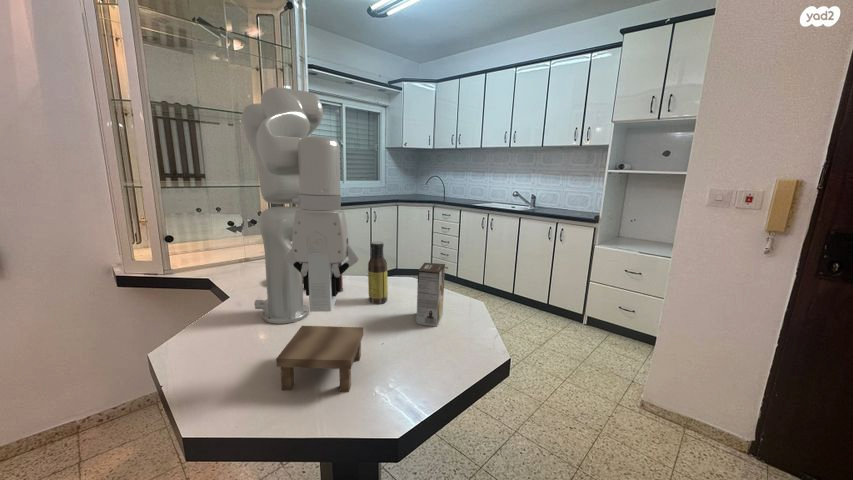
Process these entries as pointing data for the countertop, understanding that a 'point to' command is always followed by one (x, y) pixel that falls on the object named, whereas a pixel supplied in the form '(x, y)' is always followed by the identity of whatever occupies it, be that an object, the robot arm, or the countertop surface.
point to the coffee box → (430, 294)
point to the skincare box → (320, 282)
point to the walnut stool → (321, 352)
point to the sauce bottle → (377, 274)
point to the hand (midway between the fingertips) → (322, 292)
